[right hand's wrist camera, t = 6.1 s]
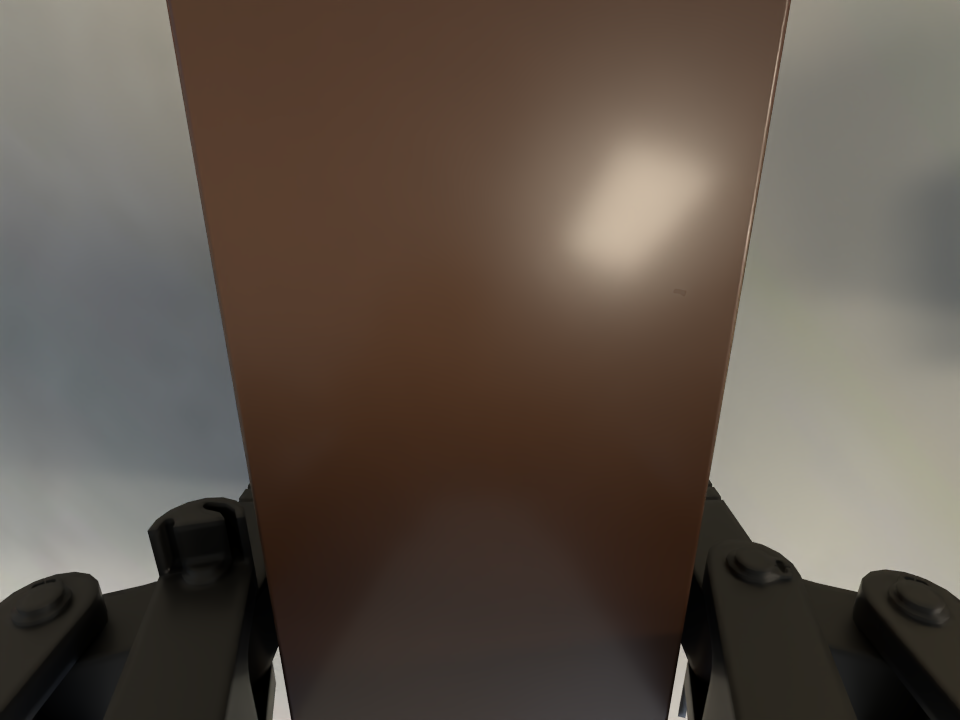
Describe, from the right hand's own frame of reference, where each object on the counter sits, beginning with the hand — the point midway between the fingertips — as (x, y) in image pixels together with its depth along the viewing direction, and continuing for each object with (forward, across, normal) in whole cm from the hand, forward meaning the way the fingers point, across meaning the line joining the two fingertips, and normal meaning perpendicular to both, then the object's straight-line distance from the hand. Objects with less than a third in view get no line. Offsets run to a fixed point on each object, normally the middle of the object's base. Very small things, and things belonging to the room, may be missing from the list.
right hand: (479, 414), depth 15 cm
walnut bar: (0, 0, -10) cm, 10 cm away
